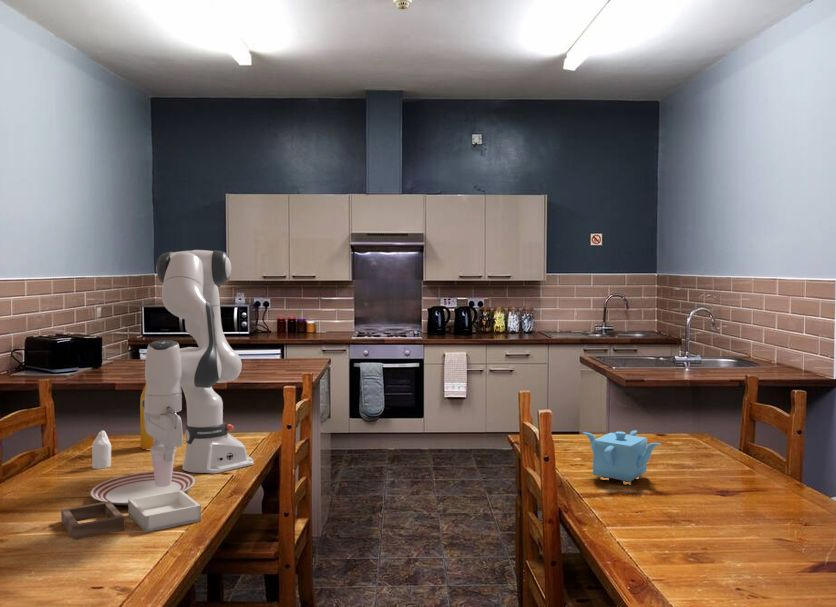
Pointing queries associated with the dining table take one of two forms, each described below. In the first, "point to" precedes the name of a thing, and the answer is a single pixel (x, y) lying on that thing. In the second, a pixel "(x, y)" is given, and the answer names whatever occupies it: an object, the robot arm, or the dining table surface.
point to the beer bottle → (145, 439)
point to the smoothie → (161, 466)
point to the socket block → (94, 527)
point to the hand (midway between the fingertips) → (163, 458)
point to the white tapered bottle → (101, 451)
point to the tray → (164, 510)
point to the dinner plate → (138, 487)
